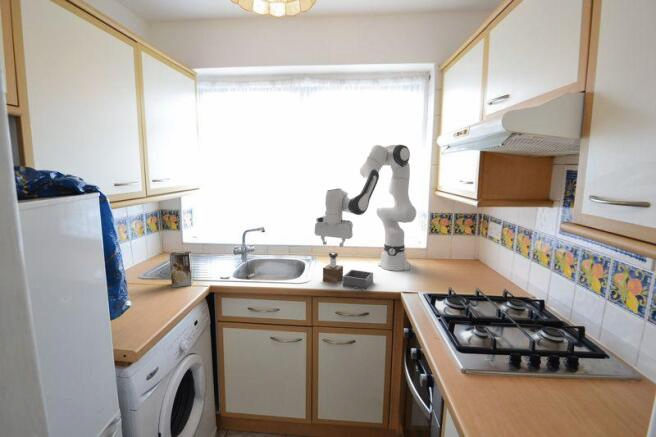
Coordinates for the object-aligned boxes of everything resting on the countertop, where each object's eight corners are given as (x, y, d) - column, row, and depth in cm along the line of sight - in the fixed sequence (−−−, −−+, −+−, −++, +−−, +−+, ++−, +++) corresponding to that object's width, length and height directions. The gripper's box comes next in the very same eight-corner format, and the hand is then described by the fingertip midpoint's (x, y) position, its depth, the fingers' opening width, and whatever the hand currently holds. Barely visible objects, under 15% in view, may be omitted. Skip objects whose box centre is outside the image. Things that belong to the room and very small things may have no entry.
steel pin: (330, 277, 168) (331, 252, 166) (338, 279, 166) (339, 253, 164) (327, 280, 164) (327, 254, 162) (335, 281, 162) (335, 255, 160)
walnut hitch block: (329, 276, 170) (329, 264, 169) (342, 278, 167) (343, 265, 166) (322, 280, 163) (323, 268, 162) (337, 283, 160) (337, 270, 159)
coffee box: (193, 281, 161) (191, 251, 158) (191, 285, 155) (189, 254, 152) (173, 283, 158) (171, 252, 156) (171, 287, 152) (169, 255, 150)
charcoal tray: (351, 278, 167) (351, 269, 167) (372, 281, 162) (373, 272, 162) (342, 285, 156) (343, 276, 156) (365, 289, 152) (366, 279, 151)
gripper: (354, 219, 159) (353, 246, 161) (318, 217, 167) (318, 242, 169) (350, 221, 153) (349, 249, 155) (313, 218, 162) (312, 244, 164)
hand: (332, 245), depth 162 cm, fingers open, 8 cm apart
